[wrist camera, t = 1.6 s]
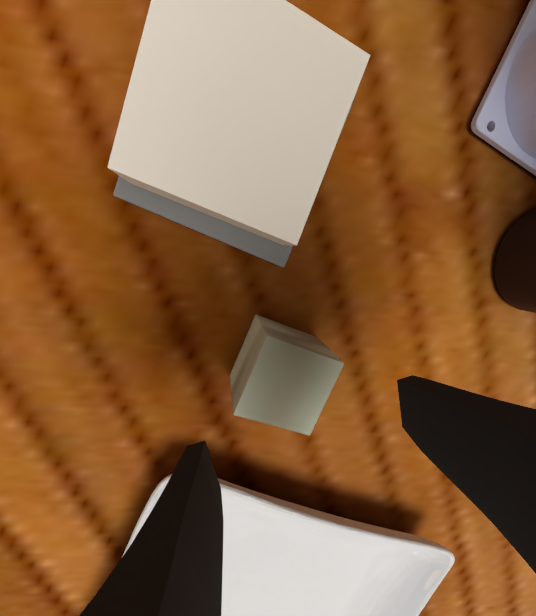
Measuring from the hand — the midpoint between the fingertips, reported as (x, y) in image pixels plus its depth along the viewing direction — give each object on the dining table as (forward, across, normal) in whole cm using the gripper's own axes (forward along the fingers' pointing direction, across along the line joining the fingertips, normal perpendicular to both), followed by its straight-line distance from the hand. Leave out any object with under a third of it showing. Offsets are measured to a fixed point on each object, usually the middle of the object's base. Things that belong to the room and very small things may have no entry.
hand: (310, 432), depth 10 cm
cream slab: (+5, 0, -11) cm, 12 cm away
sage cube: (+7, 0, 0) cm, 7 cm away
